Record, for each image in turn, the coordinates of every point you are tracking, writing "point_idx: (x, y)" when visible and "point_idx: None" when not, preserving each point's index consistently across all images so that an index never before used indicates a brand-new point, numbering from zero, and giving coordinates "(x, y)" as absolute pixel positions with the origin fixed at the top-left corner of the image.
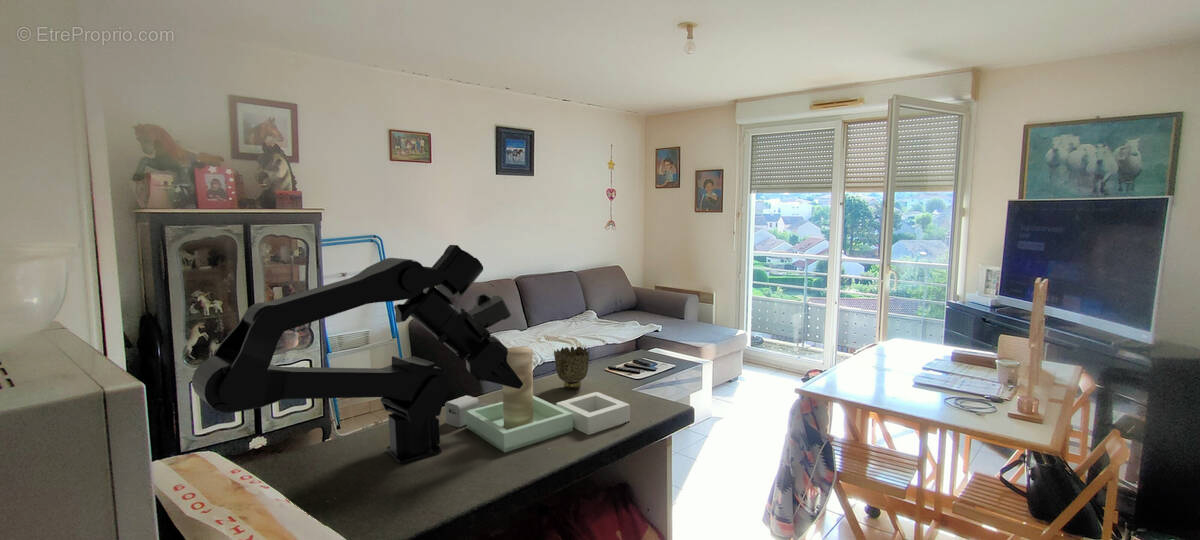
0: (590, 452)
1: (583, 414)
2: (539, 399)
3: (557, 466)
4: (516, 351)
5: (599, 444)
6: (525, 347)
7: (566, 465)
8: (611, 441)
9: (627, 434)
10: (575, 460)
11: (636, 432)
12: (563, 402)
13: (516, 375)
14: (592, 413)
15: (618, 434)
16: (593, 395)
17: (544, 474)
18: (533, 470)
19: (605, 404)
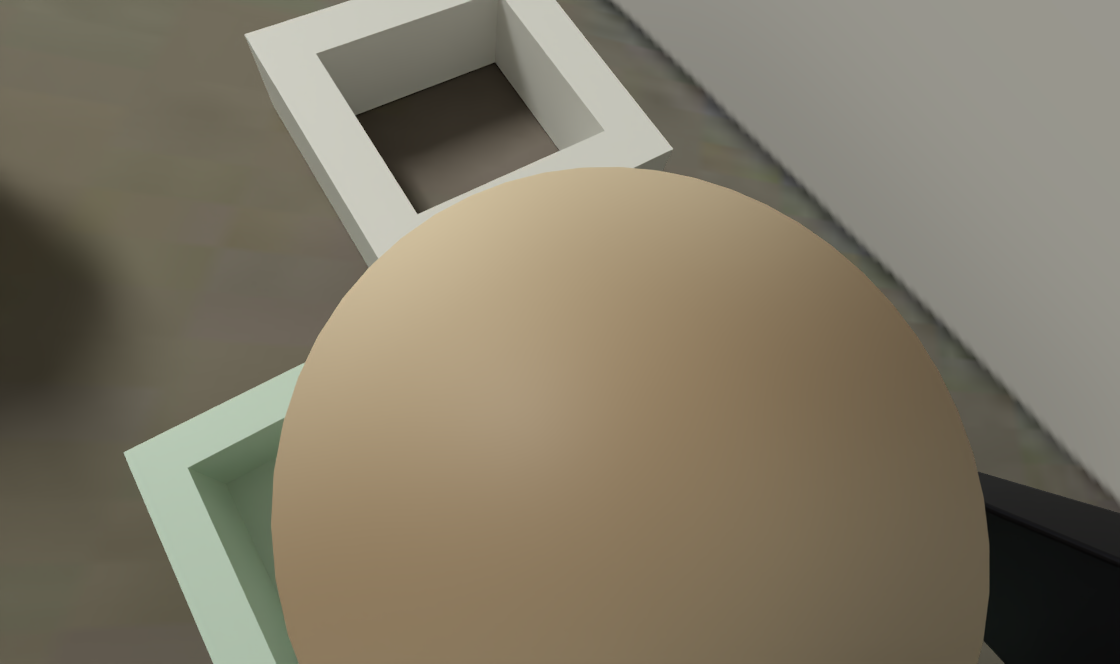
0: (827, 226)
1: (627, 163)
2: (280, 390)
3: (965, 369)
4: (741, 476)
5: (749, 180)
6: (375, 276)
7: (952, 332)
8: (721, 132)
9: (653, 64)
10: (904, 292)
11: (636, 31)
12: (397, 238)
13: (1088, 510)
14: (617, 121)
15: (650, 94)
16: (313, 63)
17: (1041, 427)
18: (1014, 474)
19: (408, 47)
